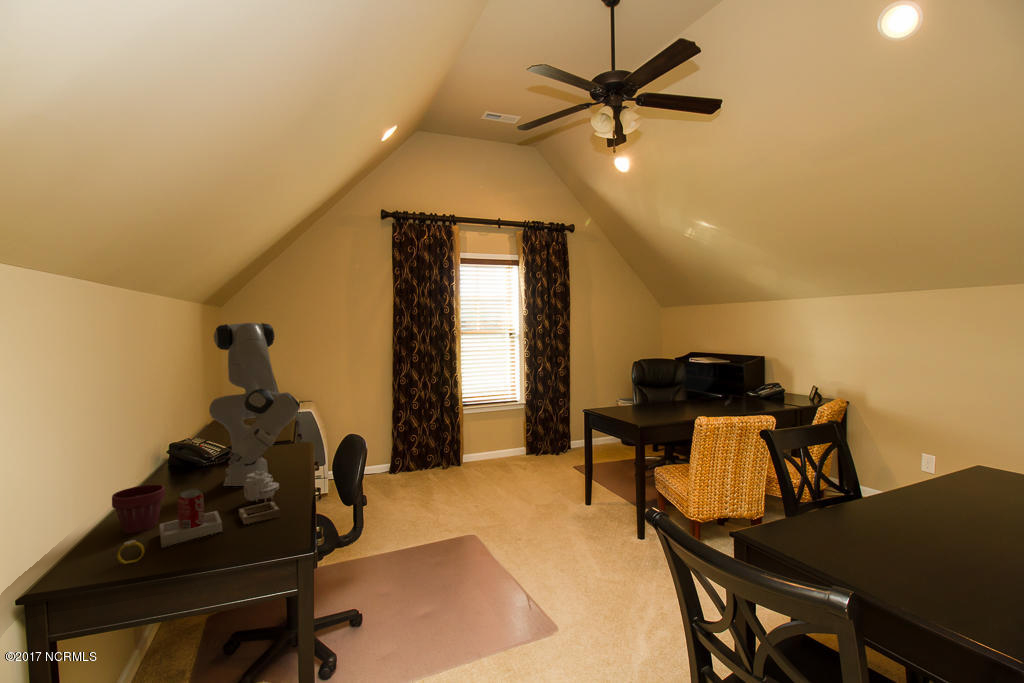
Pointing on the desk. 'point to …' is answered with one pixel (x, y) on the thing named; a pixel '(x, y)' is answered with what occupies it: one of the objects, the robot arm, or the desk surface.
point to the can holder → (260, 516)
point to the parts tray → (189, 530)
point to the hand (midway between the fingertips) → (232, 467)
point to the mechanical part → (259, 486)
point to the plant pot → (138, 507)
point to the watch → (130, 543)
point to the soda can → (190, 509)
